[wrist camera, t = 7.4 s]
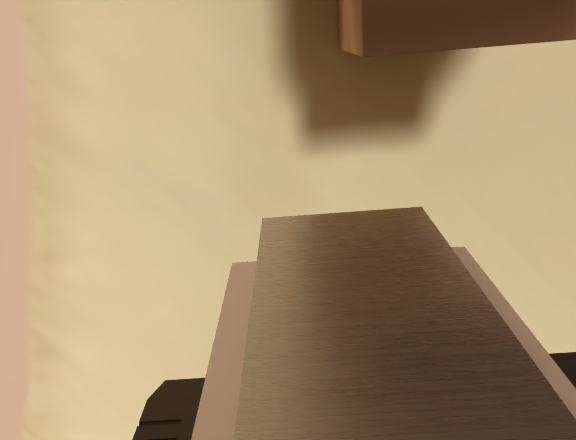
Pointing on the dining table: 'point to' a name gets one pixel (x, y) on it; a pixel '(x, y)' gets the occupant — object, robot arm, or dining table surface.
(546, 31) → the socket block
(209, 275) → the dining table surface
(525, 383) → the square peg
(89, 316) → the dining table surface
